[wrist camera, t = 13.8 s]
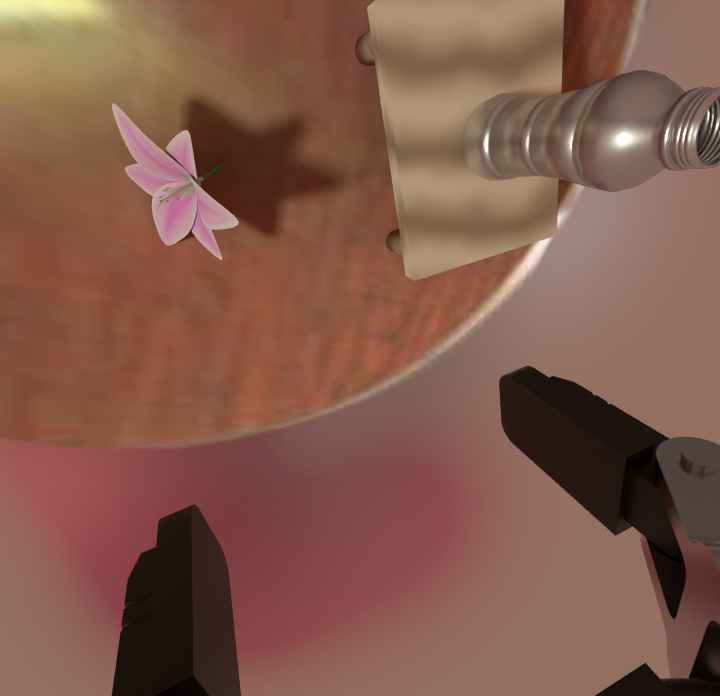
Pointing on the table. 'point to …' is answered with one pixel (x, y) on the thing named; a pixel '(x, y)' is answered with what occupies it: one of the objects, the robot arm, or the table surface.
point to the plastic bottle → (596, 132)
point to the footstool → (459, 121)
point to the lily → (174, 186)
